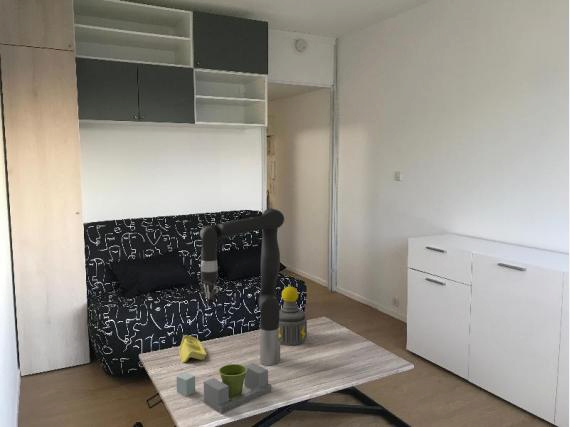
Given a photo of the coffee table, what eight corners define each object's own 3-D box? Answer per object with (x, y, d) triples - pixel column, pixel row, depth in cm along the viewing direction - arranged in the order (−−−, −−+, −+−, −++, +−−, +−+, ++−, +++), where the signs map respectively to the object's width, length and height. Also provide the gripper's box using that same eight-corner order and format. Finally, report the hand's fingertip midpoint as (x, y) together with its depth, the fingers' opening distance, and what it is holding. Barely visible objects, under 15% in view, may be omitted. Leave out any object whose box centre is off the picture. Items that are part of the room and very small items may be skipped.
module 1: (185, 387, 204) (185, 372, 204) (195, 391, 201) (195, 375, 200) (176, 392, 200) (176, 376, 200) (186, 396, 197) (186, 380, 196)
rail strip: (267, 389, 202) (267, 383, 201) (271, 391, 200) (271, 384, 200) (218, 411, 184) (217, 404, 184) (221, 414, 182) (221, 406, 182)
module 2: (214, 398, 194) (213, 377, 193) (228, 407, 187) (228, 385, 186) (203, 402, 191) (203, 381, 190) (218, 412, 184) (218, 390, 183)
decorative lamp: (314, 338, 261) (314, 286, 258) (292, 348, 247) (291, 293, 244) (288, 331, 273) (288, 280, 270) (266, 340, 259) (265, 287, 256)
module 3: (253, 382, 209) (252, 362, 208) (268, 390, 201) (268, 369, 201) (244, 386, 205) (244, 366, 204) (259, 394, 198) (259, 373, 197)
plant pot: (246, 402, 191) (246, 375, 190) (217, 402, 191) (216, 376, 190) (248, 388, 203) (247, 363, 202) (220, 388, 203) (220, 363, 202)
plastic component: (207, 355, 233) (189, 350, 229) (201, 369, 233) (182, 363, 229) (199, 339, 251) (182, 333, 247) (193, 351, 251) (176, 346, 247)
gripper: (224, 270, 214) (225, 307, 216) (207, 266, 224) (208, 301, 226) (210, 273, 209) (211, 311, 211) (194, 268, 219) (195, 304, 220)
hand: (210, 306), depth 218 cm, fingers closed
